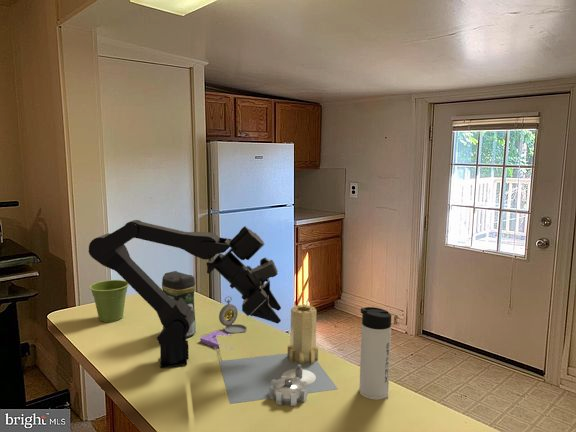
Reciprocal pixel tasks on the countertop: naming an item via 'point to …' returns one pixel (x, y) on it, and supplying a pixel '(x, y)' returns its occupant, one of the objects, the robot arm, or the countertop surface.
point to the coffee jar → (181, 291)
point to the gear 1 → (303, 335)
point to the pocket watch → (230, 319)
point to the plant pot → (109, 299)
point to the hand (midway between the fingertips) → (279, 315)
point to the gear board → (269, 376)
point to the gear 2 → (288, 391)
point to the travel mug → (375, 353)
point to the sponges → (213, 339)
